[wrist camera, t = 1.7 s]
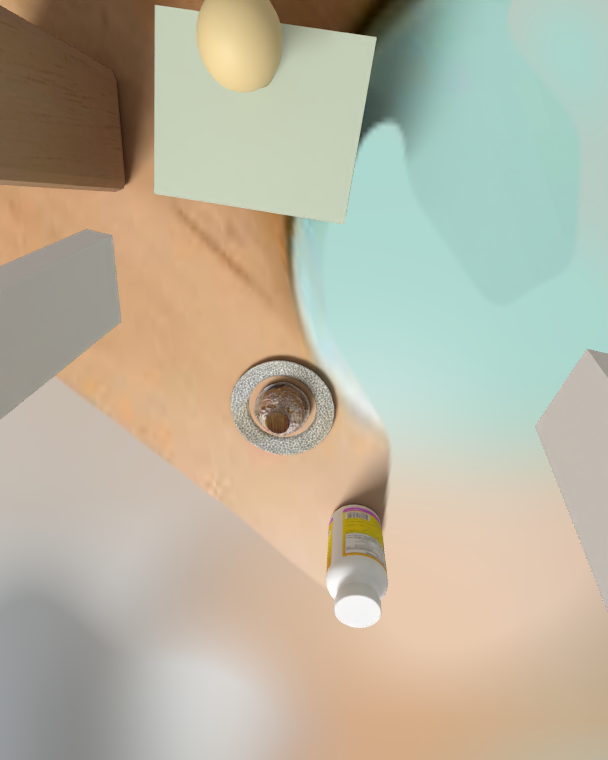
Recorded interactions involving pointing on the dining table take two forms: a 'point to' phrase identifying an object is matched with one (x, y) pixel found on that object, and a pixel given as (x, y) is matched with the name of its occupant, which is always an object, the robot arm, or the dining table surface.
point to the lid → (257, 109)
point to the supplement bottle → (356, 565)
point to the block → (56, 113)
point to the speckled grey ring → (282, 408)
